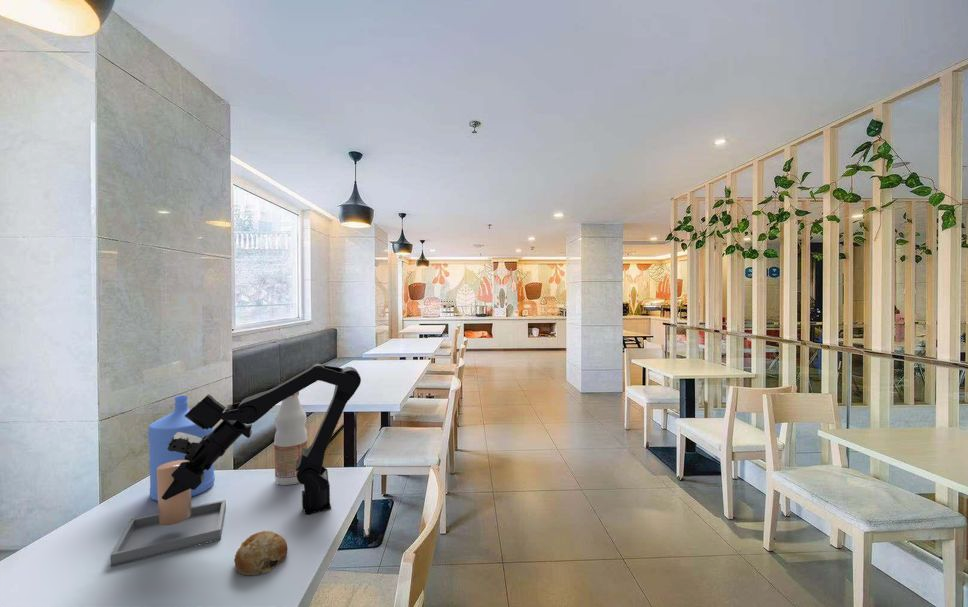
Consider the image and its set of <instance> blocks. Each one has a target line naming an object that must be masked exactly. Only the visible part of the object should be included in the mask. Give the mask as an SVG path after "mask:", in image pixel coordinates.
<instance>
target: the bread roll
mask: <svg viewBox="0 0 968 607" xmlns="http://www.w3.org/2000/svg"><path fill="white" fill-rule="evenodd" d="M288 549H289V548H288V543H287V541H286V539H285V538H284V537H283V536H282V535H281V534H278V533H276V532H274V531H271V530H262V531H259V532H255V533H254V534H251V535H250V536H249V537H246V539H245V540H244V541H242V543H241V544H240V547H239V548H238V549H237V551H236V552H235V553H236V554H235V555H234V560H233V562H234V568H235V570H236V572H238V573H239V574H242V575H243V576H245V575H246V576H258V575H262V574H263V575H264V574H267V573H270V572H271V571H272V570H273V569H274V568H276V567H278V566H279V565H280V564H281V563H283V561H284V560H285V559H286V558H287V556H288V555H287V554H288Z"/></svg>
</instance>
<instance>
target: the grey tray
mask: <svg viewBox="0 0 968 607" xmlns="http://www.w3.org/2000/svg"><path fill="white" fill-rule="evenodd" d="M226 501H227V500H226V499H222V500H218V501H213V502H207V503H203V504H198V505H194V506H191V513H192V514H191V516H190V517H189V518H188V519H186V520H184V521H182V522H179V523H176V524H173V525H160V524H159V515H158V513H156V514H155V513H154V514H150V515H145V516H140V517H136V518H132V519H130V521H129V522H128V524H127V526H126V528H125V529H124V531H123V533H122V534H121V535H120V538H119V540H118V542H117V543H116V545H115V547H114V549H113V550H112V552H111V554H110V567H115V566H118V565H123V564H127V563H131V562H135V561H140V560H143V559H147V558H151V557H155V556H156V557H157V556H159V555H164V554H167V553H171V552H176V551H179V550H180V551H181V550H184V549H188V547H189V548H192V546H193V547H196V546H195V545H197V546H200V545H199V544H201V545H204V544H203V543H205V544H207V543H206V542H209V543H211V542H210V541H213V542H216V541H215V540H217V541H221V540H220V539H222V536H223V529H224V522H225V515H226V509H227V503H226ZM221 535H222V536H221Z"/></svg>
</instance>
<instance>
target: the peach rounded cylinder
mask: <svg viewBox="0 0 968 607" xmlns="http://www.w3.org/2000/svg"><path fill="white" fill-rule="evenodd" d="M182 462H189V461H188V460H177V461H172V462H168V463H165V464H162V465H160V466H159V467H158V468H157V488H158V501H157V509H158V510H157V511H158V513H157V514H158V515H159V524H160V525H173V524H176V523H179V522H182V521H184V520H186V519H188V518H189V517H190V516H191V514H192V513H191V507H192V497H191V489H188V490H186V491H184V492H182V493H179V494H177V495H175V496H173V497H171V498H169V499H167V500H164V499H162V496H163V495H164V493H165V492H166V490H167V489H168V488H169V486H170V485H171V483H172V482H173V481H174V478H173V477H172V476H171V474H172V473H173V471H174V470H175V469H176V468H177V467H178V466H179V465H180V464H181V463H182Z"/></svg>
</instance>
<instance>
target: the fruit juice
mask: <svg viewBox="0 0 968 607" xmlns="http://www.w3.org/2000/svg"><path fill="white" fill-rule="evenodd" d="M299 395H300V391H298V392H297V393H295V394H293V395H291V396H290V397H288V398H286V399H284V400H283V401H281V404H280V407H279V409H278V411H277V413H276V415H275V417H274V426H275V429H276V431H275V433H274V440H273V441H274V442H273V443H274V479H275V483H276V484H277V483H278V484H277V485H279V484H280V486H292V485H296V484H299V483H300V482H299V481H298V479H297V471H296V461H297V460H298V459H299V457H300V456H301V452H302V448H305V449H307V450H308V448H309V447H308V445H309V444H308V431H307V428H306V422H307V414H306V413H307V412H306V411H305V410H304V409H303V408H304V407H302V404H301V402H300V399H299ZM291 484H292V485H291Z"/></svg>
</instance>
